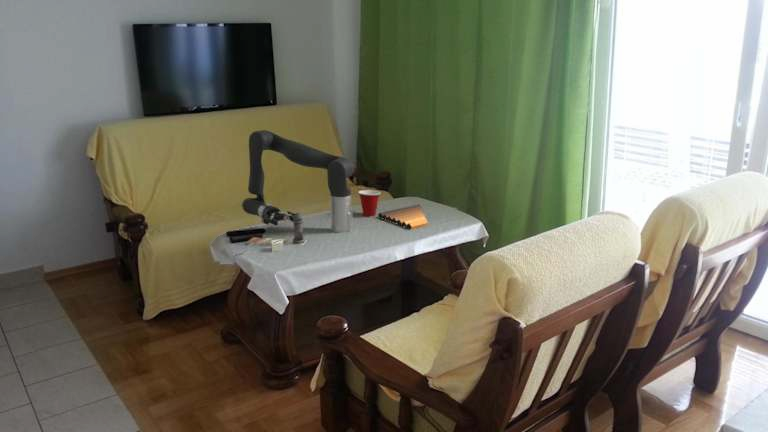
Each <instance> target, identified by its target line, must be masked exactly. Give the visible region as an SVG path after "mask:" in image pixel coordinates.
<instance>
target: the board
mask: <svg viewBox="0 0 768 432" xmlns="http://www.w3.org/2000/svg"><path fill="white" fill-rule="evenodd" d="M282 239H283V245H284V244H285V245H295V244H294V243H293V239H294V238H271V237H268V238H267V237H256V236H252V237H251V238H249V239H248V240H247V241H246V242H245V245H246V246H249V244H251V243H261V244H272V240H282ZM307 242H308V240H307V239H305V242H304V243H302V244H298V245H302V246H303V245H305V244H306V243H307Z"/></svg>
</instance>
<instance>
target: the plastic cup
mask: <svg viewBox="0 0 768 432" xmlns="http://www.w3.org/2000/svg"><path fill="white" fill-rule="evenodd" d="M358 194H359V198H360V204H361V209H362V213H363V214H362V215H363V216H364V217H366V216H372V217H375V216H376V212H377V208H378V203H379V202H378V201H379V198H380V195H381V191H379V190H372V189H371V190H370V189H367V190H359V191H358ZM374 215H375V216H374Z"/></svg>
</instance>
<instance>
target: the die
mask: <svg viewBox="0 0 768 432" xmlns="http://www.w3.org/2000/svg"><path fill="white" fill-rule="evenodd" d="M281 239H282V240H272V243H271V250H272V252H284V244H283V239H284V238H281Z"/></svg>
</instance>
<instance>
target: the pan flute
mask: <svg viewBox="0 0 768 432" xmlns="http://www.w3.org/2000/svg"><path fill="white" fill-rule="evenodd" d="M377 216H378V218H379V217H380V218H379V219H381V218H383V219H386V220H389V221H391V222H390V223H392V222H394V223H397V224H400V225H402V226H405V227H407V228H406V229H408V228H409V229H408V230H410V229H412V230H414V229H413V228H416V229H418V228H417V227H420V228H422V227H421V226H424V225H427V226H428V223H429V222H428V220H427V218H426V216H425V213H424V211H423V209H422V206H421V205H420V204H414V205H410V206H404V207H401V208H396V209H392V210H387V211H382V212H379V213H378V214H377ZM383 219H382V220H383ZM386 220H385V221H386ZM389 221H388V222H389ZM394 223H393V224H394ZM397 224H396V225H397ZM402 226H401V227H402ZM405 227H404V228H405ZM424 227H425V226H424Z"/></svg>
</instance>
